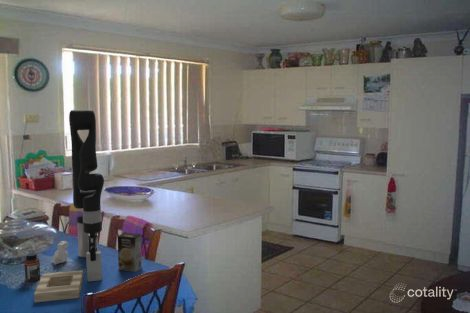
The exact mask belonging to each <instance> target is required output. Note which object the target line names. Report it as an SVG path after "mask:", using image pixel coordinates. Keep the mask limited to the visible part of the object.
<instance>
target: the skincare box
mask: <svg viewBox="0 0 470 313" xmlns="http://www.w3.org/2000/svg"><path fill="white" fill-rule="evenodd" d="M85 259H86V262H85V263H86V274H87V277H86V278H87V282H97V281H98V282H99V281H103V268H102V267H103V263H102V251H101V250H98V251H96V261H90V252H87V254H86V258H85Z"/></svg>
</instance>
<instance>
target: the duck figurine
mask: <svg viewBox="0 0 470 313" xmlns="http://www.w3.org/2000/svg"><path fill="white" fill-rule="evenodd" d="M56 247H57V250H55V252H54V253H53V257H52V261H53V264H54V265H59V264H62V263H66V261H67V259H68V258H69V252H68V251H67V250H66V249H67V248H69V242H68V241H66V240H61V241H59V242H58V244H57V246H56Z"/></svg>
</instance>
